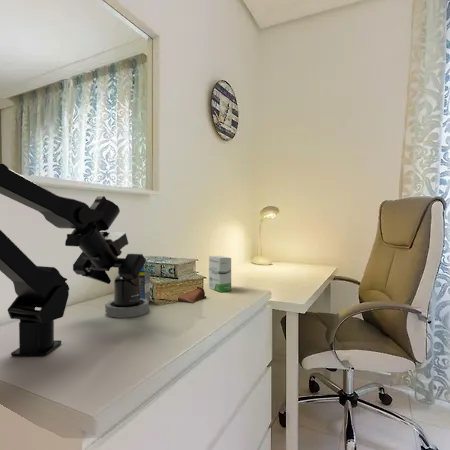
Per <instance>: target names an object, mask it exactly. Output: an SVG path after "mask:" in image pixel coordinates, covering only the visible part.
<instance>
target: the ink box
mask: <svg viewBox="0 0 450 450" xmlns="http://www.w3.org/2000/svg"><path fill="white" fill-rule="evenodd" d="M208 289H210V290H213V291H216V292H219V293H223V292H229V291H230V292H231V291H232V257H229V256H228V257H227V256H224V255H223V256H221V255H210V256H208Z"/></svg>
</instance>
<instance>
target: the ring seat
mask: <svg viewBox="0 0 450 450" xmlns="http://www.w3.org/2000/svg"><path fill="white" fill-rule="evenodd" d="M104 305H105V306H104V307H105V309H104V310H105V314H106V315H107V316H108V317H111V318H117V319H118V318H119V319H124V318H127V319H128V318H134V317H139V316H143V315H145V314H147V313H148V312H149V309H150V301H148V300H146V299H141V298H140V305H138V306H134V307H114V299H113V300H109V301H108V302H106V303H105V304H104Z"/></svg>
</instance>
